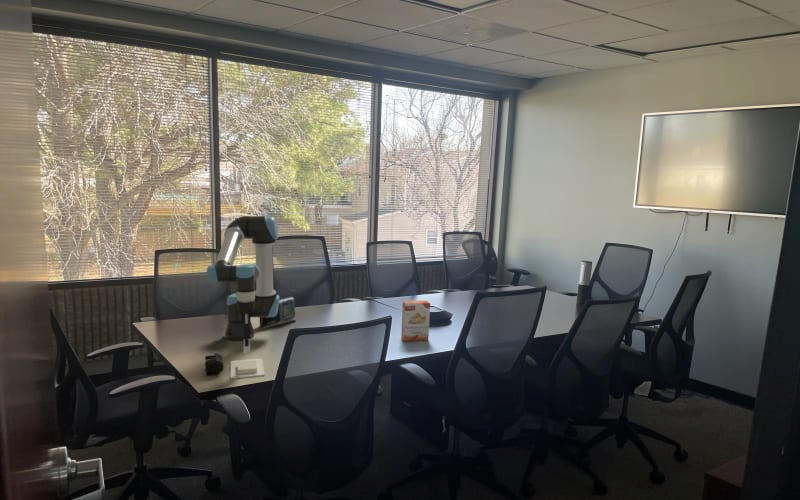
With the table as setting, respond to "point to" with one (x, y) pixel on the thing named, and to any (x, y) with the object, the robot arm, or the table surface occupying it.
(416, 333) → the cracker box
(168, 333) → the table surface
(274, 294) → the robot arm
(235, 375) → the mat
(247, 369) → the tile
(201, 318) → the table surface
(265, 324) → the radio
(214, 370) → the end cap
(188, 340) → the table surface
